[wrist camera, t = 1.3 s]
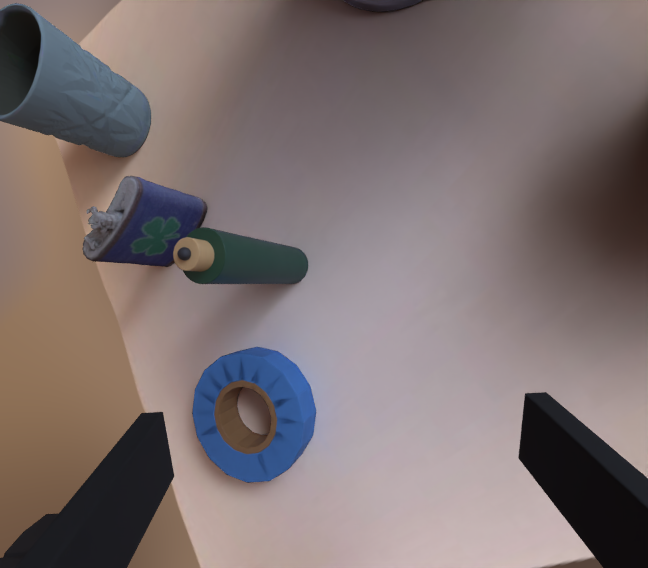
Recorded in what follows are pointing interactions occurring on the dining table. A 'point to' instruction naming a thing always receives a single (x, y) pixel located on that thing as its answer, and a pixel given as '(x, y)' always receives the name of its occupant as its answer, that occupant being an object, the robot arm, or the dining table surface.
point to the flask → (142, 224)
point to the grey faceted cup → (65, 88)
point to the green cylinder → (237, 259)
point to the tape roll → (229, 430)
